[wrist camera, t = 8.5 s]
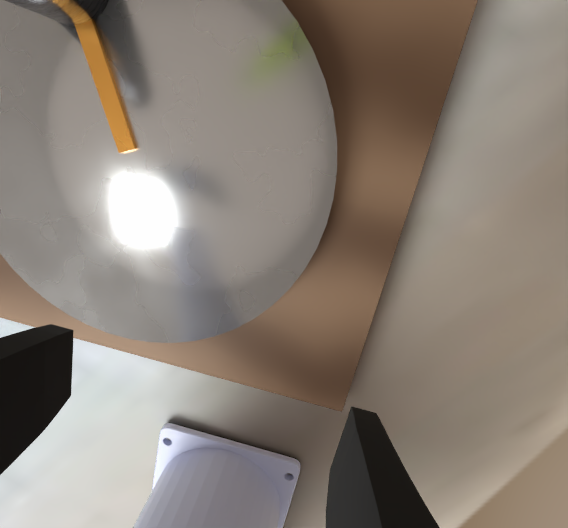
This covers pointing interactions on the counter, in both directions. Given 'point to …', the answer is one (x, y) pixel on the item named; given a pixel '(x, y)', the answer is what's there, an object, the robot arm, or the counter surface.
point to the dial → (161, 160)
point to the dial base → (344, 211)
